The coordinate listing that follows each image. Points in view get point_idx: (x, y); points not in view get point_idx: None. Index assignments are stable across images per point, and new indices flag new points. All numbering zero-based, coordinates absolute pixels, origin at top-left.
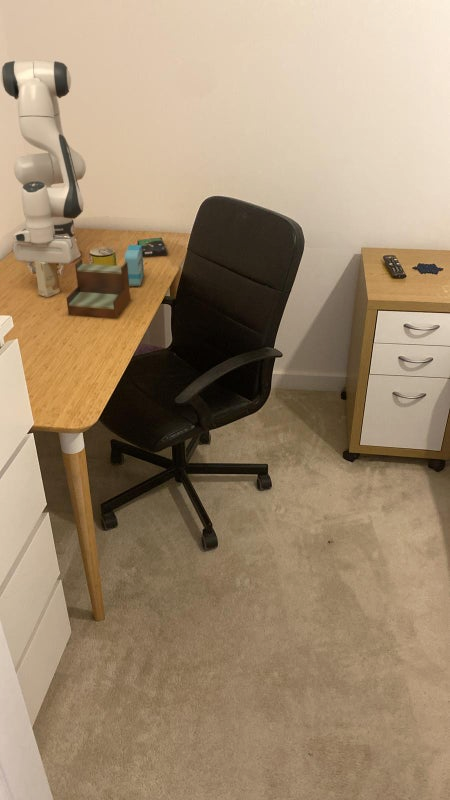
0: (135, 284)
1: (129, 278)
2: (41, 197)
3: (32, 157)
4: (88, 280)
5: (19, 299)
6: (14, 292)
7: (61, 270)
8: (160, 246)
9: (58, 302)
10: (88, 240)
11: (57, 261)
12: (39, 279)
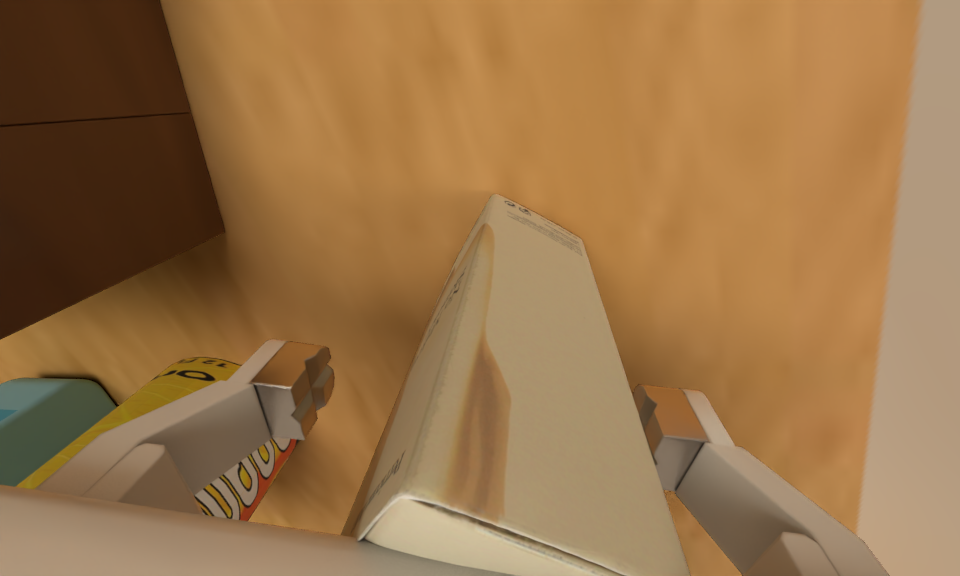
0: (23, 382)
1: (2, 411)
2: None
3: None
4: None
5: (759, 136)
6: (809, 285)
7: (214, 387)
8: None
9: (366, 99)
10: None
11: (15, 542)
12: (568, 299)
